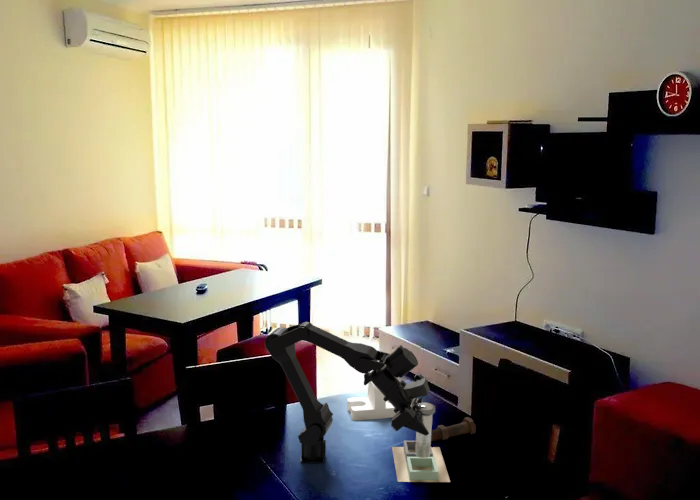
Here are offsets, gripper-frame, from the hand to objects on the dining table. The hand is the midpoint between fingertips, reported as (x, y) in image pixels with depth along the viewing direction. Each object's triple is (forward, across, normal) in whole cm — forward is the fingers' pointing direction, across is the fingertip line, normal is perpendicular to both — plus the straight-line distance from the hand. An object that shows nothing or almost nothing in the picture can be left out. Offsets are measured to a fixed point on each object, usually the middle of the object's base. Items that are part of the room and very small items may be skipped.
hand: (428, 430), depth 169 cm
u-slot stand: (-5, +33, +25) cm, 42 cm away
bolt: (+12, +23, +7) cm, 27 cm away
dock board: (+8, +4, +11) cm, 14 cm away
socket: (+9, 0, +10) cm, 13 cm away
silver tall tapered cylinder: (+4, 0, +6) cm, 7 cm away
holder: (+7, +8, +12) cm, 16 cm away
